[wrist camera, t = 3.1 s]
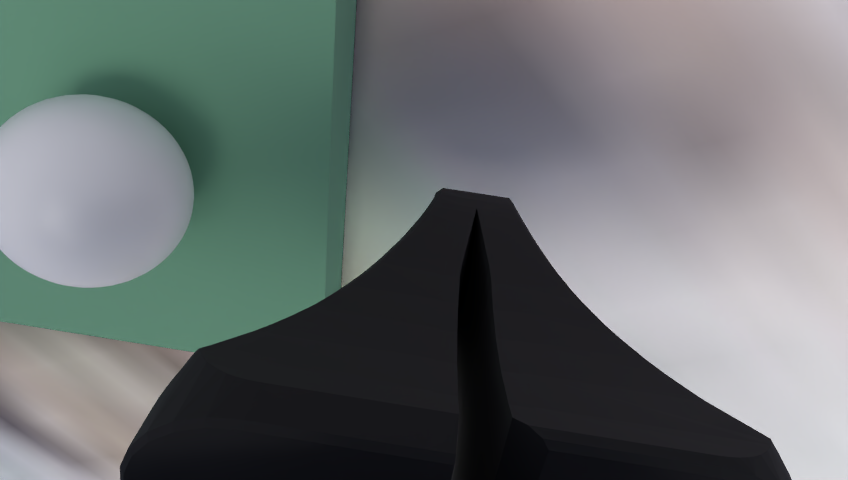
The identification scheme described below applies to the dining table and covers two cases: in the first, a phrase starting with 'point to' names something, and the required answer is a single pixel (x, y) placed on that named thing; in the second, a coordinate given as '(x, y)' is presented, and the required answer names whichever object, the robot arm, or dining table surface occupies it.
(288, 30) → the putting mat
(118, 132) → the ball
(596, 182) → the dining table surface
